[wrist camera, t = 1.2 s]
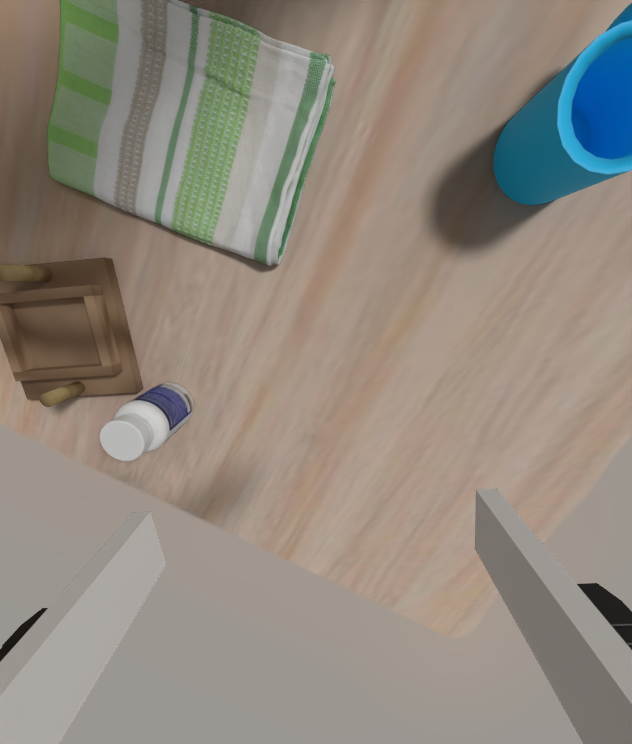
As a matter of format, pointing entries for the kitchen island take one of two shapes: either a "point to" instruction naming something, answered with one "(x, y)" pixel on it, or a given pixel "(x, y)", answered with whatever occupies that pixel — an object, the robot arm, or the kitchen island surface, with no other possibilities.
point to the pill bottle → (147, 421)
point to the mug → (573, 124)
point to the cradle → (66, 330)
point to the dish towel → (187, 120)
